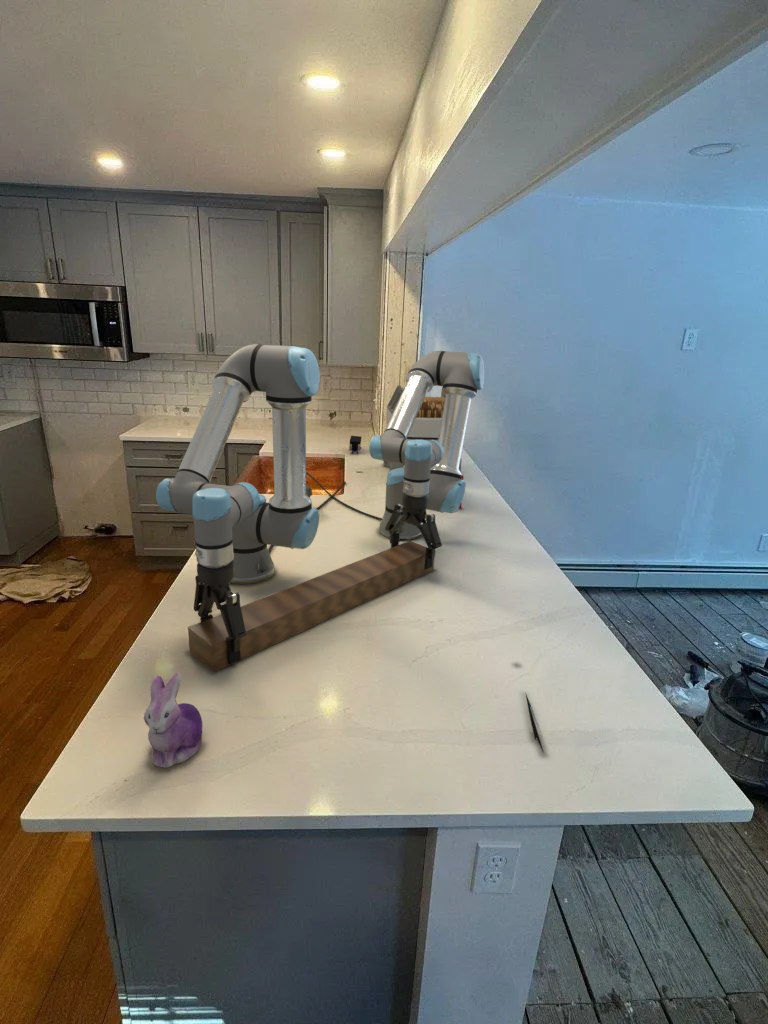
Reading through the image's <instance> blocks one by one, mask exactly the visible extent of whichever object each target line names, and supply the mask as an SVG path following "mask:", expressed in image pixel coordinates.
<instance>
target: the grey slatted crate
mask: <svg viewBox="0 0 768 1024" xmlns="http://www.w3.org/2000/svg"><path fill="white" fill-rule="evenodd" d="M442 389H443V386H441V392H440V393H441V394H440V396H425V398H424V401H423V403H422V405H421V407H420V410H419V412H418V414H417V417H416V419H415V421H414V423H413V426H412V428H411V430H410V432H409V435H408V437H407V439H410V440H415V439H419V440H426V441H427V440H436V441H438V437H439V432H440V426H441V420H442V415H443V409H444V403H445V398H446V395H445V394H444V392H443V391H442ZM403 390H404V388H403V387H402V385H399V384H398V385H397V386H396V388H395V390H394V392H393V394H392V395H391V398H390V400H389V402H388V404H387V405H386V413H385V414H386V415H385V423H386V427H387V425H388V422H389V420H390V418H391V416H392V414H393V412H394V409H395V407H396V405H397V403H398V401H399V399H400V396H401V394H402V392H403ZM386 427H385V428H386ZM462 461H463V460H462V457H461V459H460V464H459V471H460V472H462ZM383 466H384V467H388V468H389V472H390V471H391V470H393V469H397V468H403V467H404V466H405V464H404V463H397V462H390V461H383Z"/></svg>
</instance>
